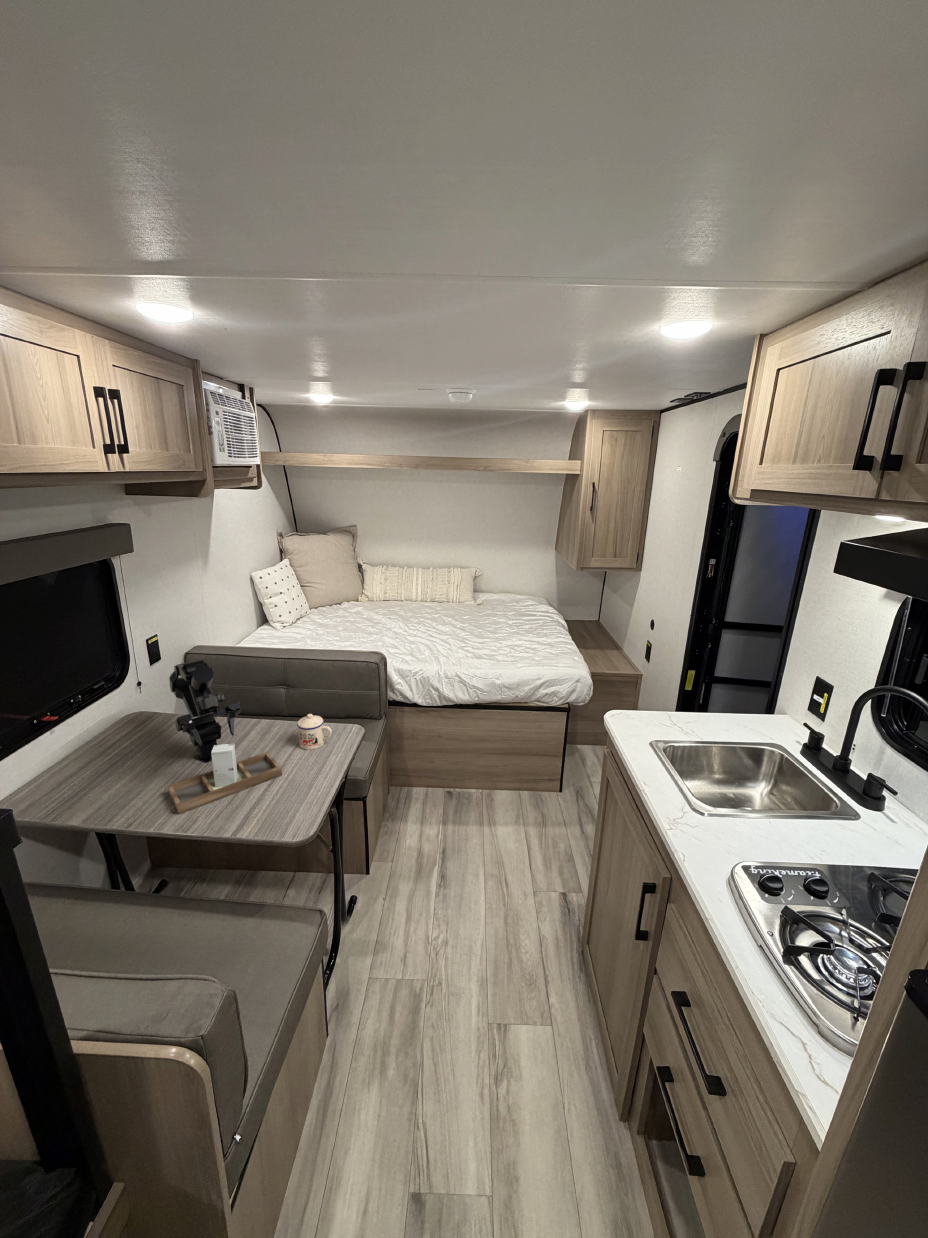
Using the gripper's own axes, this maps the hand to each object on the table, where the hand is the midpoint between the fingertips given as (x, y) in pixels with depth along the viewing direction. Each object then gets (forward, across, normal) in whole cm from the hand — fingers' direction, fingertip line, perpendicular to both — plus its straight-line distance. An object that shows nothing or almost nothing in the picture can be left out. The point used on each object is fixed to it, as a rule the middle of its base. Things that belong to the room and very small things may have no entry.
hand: (217, 740), depth 157 cm
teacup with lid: (+10, +32, +10) cm, 35 cm away
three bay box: (+13, 0, +6) cm, 14 cm away
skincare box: (+12, 0, +6) cm, 14 cm away
